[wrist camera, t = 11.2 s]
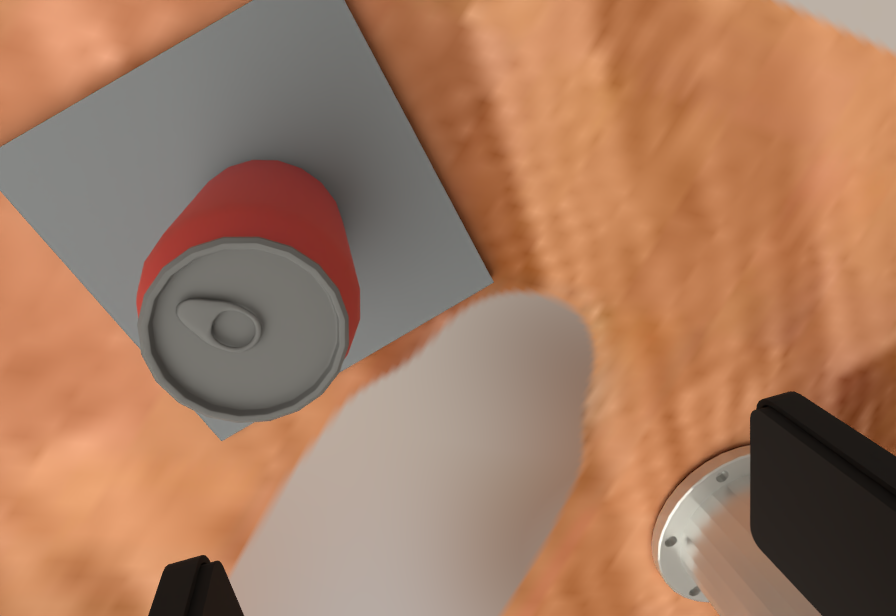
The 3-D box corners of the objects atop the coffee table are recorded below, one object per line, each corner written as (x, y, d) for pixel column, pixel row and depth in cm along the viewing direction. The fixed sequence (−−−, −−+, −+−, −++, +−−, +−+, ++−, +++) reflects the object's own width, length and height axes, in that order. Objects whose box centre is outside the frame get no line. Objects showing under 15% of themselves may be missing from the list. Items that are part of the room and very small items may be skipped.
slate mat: (490, 278, 31) (493, 282, 31) (223, 434, 31) (221, 441, 31) (322, -38, 25) (322, -41, 24) (-18, 159, 25) (-26, 162, 24)
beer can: (228, 128, 26) (172, 172, 15) (367, 200, 28) (408, 283, 17) (168, 263, 27) (76, 393, 16) (305, 320, 29) (306, 468, 18)
